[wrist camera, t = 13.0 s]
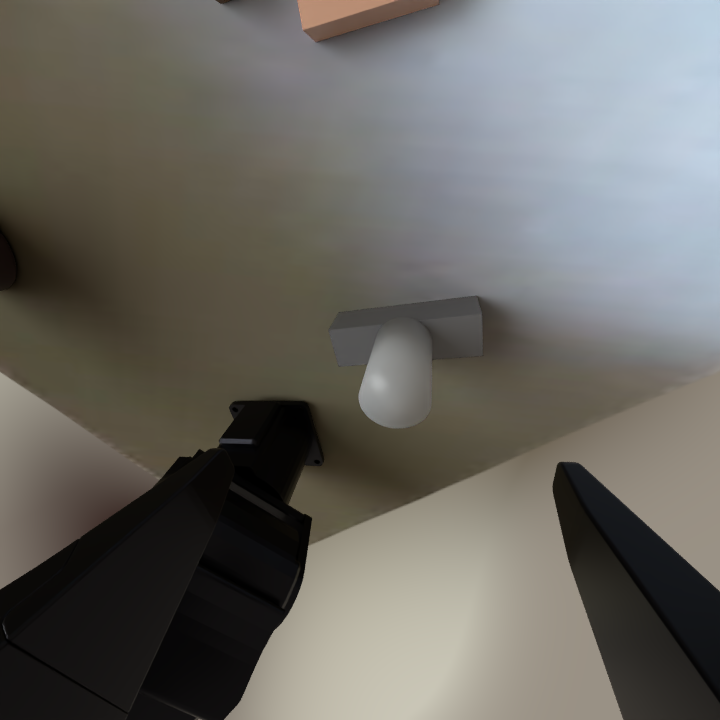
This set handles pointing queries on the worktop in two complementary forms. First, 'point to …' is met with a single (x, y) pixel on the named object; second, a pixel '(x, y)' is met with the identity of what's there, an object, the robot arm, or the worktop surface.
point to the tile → (352, 14)
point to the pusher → (405, 352)
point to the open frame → (222, 1)
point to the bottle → (6, 265)
